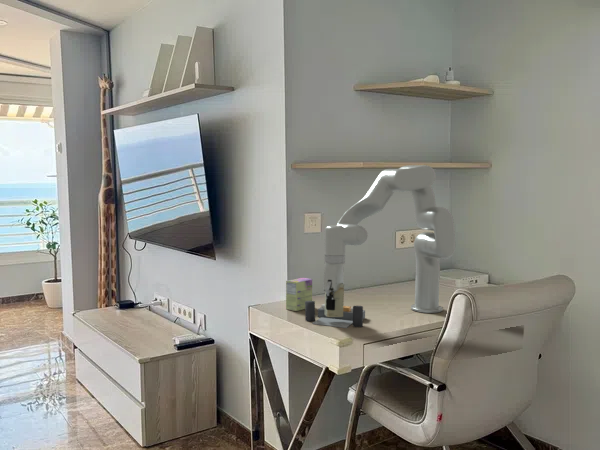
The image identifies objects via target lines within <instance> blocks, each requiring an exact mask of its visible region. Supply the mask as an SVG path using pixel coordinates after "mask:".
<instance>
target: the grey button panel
mask: <svg viewBox="0 0 600 450" xmlns="http://www.w3.org/2000/svg"><path fill="white" fill-rule="evenodd" d="M324 311H325V303H322V304H321V306H320V307H319V308H318V309H317V317H318V319H315V321H312V325H317V326H326V327H336V328H343V329H347V328H349V327H350V326H351V325H353V307H352V306H349V305H348V306H347V305H343V317H327V316H326V315H324ZM365 319H366V309H363V320H365Z"/></svg>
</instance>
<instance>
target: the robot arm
mask: <svg viewBox="0 0 600 450" xmlns="http://www.w3.org/2000/svg"><path fill="white" fill-rule="evenodd" d="M436 177H437V175H436V172H435V169H434V168H432V167H431V166H430V165H427V164H426V165H425V164H423V165H421V164H420V165H419V164H418V165H417V164H416V165H415V164H413V165H412V164H411V165H410V164H409V165H408V164H407V165H403V166H401V167H399V168H386V169H383V170H381V172H380V173H379V174H378V175H377V177H376V178H375V180H374V181H373V183H372V184H371V186H370V188H369V189H368V190H367V192H366V193H365V195H364V196H363V197H362V198H361V199H360V200H359V201H357V202H356V203H355V204H353V205H352V206H351V207H350V208H348V209H347V210H346V211H345V212H344V213H343V215H341V217H340V219H339V220H338V221H337V224H336V225H328V226H325V228H324V256H323V257H324V259H323V260H324V269H323V284H322V290H323V291H324V293H325V292H326V310H335V299H334V296H335V292H336V291H338V290H339V285H340V284H341V283H343V284H344V280H345V279H344V277H345V276H344V275H345V272H344V271H345V270H344V265H345V264H346V246H347V245H348V246H361V245H363V244H365V242H366V241H367V239H368V237H369V236H368V234H369V233H368V232H367V230H366V228H365V227H363V226H362V225H360V223H361V222H362V221H364V220H365V219H367V218H369V217H372V216H375V215H376V214H379V213H380V212H382V211H383V210H384V208H385V207H386V205H388V202H389V201H390V199H391V197H392V196H393V194H394V193H395V192H399V193H400V192H402V193H403V192H410V194H411V196H412V202H413V210H414V220H415V221H414V222H415V225H416V226H417V228H419V229H422V230H428V231H427V232H426V231H424V232H420V233H419V234H417V235H416V237H414V238H415V239H414V242H413V248H414V254H415V282H414V287H415V288H414V303H413V304H411V305H410V309H411V310H412V311H414V312H418V313H424V314H437V313H442V312H443V306H441V305H440V303H439V301H440V275H441V265H440V261H439V259H443V260H444V259H445V260H447V259H450V258H451V257H453V255H454V253H455V252H456V251H455V250H456V234H455V233H456V232H455V224H454V223H455V222H454V217H453V214H452V213H451V211H450V210H449V209H448V208H447V207H443V206H437V204H436V198H435V191H434V189H433V187H432V185H433V184H434V183H435V181H436ZM429 231H433V232H429ZM344 285H345V284H344ZM330 289H333V291H332V290H330ZM331 293H333V294H331Z"/></svg>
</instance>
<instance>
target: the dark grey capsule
mask: <svg viewBox="0 0 600 450" xmlns="http://www.w3.org/2000/svg"><path fill="white" fill-rule="evenodd" d="M352 308H353V323H352V326H353V328H354V327H355V328H362V327H363V325H364V324H363V323H364V319H363V310H364V306H362V305H353V306H352Z"/></svg>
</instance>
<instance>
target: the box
mask: <svg viewBox="0 0 600 450" xmlns="http://www.w3.org/2000/svg"><path fill="white" fill-rule="evenodd" d="M285 292H286V293H285V309H286V310H288V311H293V312H298V311H301V310H305V301H313V279H312V278H308V277H299V278H295V279H290V280H289V279H288V280H285Z"/></svg>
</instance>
